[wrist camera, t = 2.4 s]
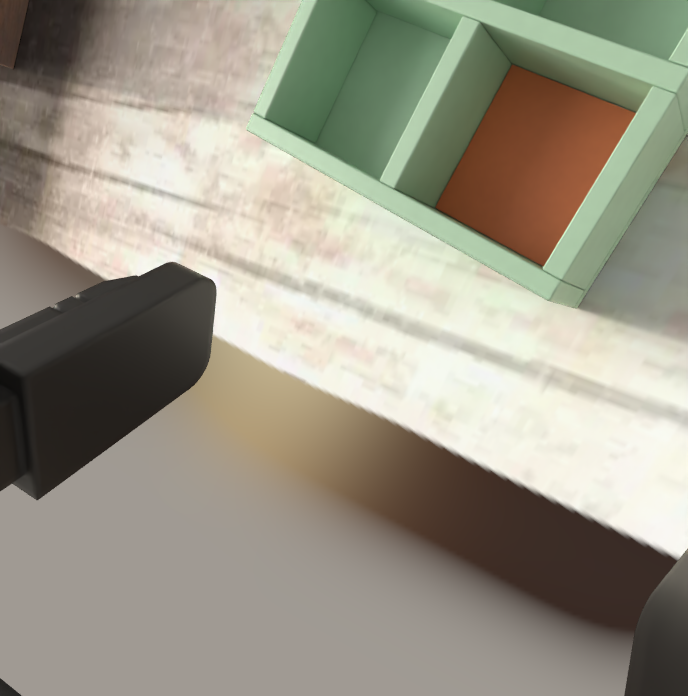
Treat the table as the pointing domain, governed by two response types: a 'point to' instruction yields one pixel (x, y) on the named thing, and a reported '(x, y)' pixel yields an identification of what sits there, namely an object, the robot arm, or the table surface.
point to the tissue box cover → (11, 29)
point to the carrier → (490, 120)
